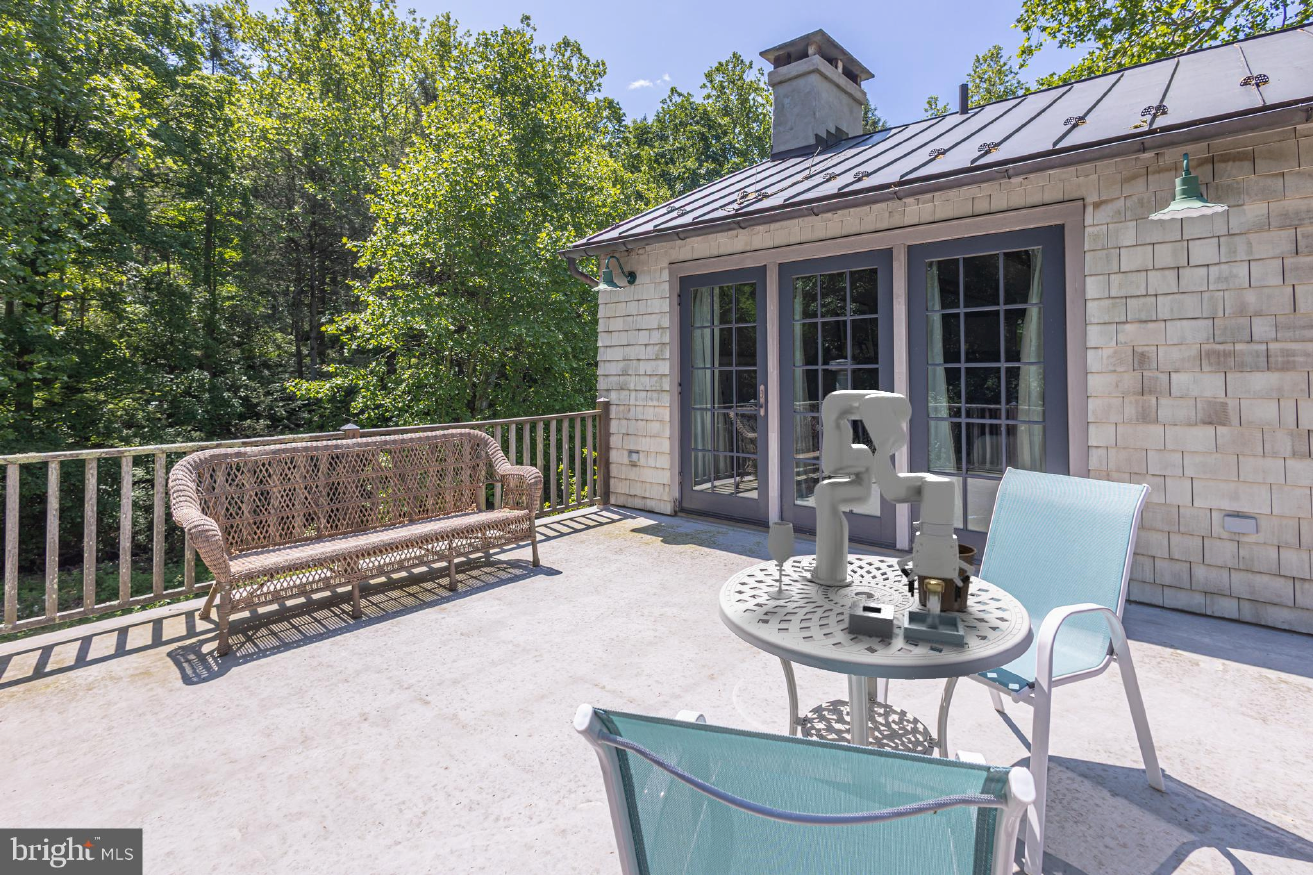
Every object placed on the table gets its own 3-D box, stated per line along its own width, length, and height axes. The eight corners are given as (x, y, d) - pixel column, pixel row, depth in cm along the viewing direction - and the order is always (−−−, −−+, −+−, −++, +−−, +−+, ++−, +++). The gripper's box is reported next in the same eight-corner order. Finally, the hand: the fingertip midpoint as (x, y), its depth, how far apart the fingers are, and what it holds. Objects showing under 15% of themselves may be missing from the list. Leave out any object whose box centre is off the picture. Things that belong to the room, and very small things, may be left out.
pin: (922, 631, 152) (924, 583, 151) (922, 625, 156) (924, 578, 155) (942, 634, 150) (944, 585, 149) (941, 628, 154) (943, 580, 153)
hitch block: (848, 633, 153) (849, 613, 152) (852, 619, 162) (852, 600, 162) (892, 639, 149) (892, 619, 149) (893, 625, 158) (893, 605, 158)
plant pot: (897, 598, 178) (899, 542, 177) (940, 591, 184) (942, 537, 183) (942, 617, 163) (945, 557, 162) (987, 609, 169) (990, 551, 168)
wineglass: (778, 601, 176) (779, 527, 174) (761, 593, 183) (762, 522, 181) (799, 596, 179) (800, 524, 178) (782, 589, 186) (783, 519, 184)
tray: (903, 638, 149) (903, 626, 149) (904, 620, 161) (904, 609, 161) (963, 647, 144) (964, 635, 144) (959, 627, 156) (960, 616, 156)
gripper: (897, 529, 151) (895, 598, 152) (978, 535, 144) (974, 607, 145) (898, 522, 158) (896, 589, 159) (974, 528, 151) (971, 597, 152)
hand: (933, 598), depth 152 cm, fingers open, 9 cm apart
